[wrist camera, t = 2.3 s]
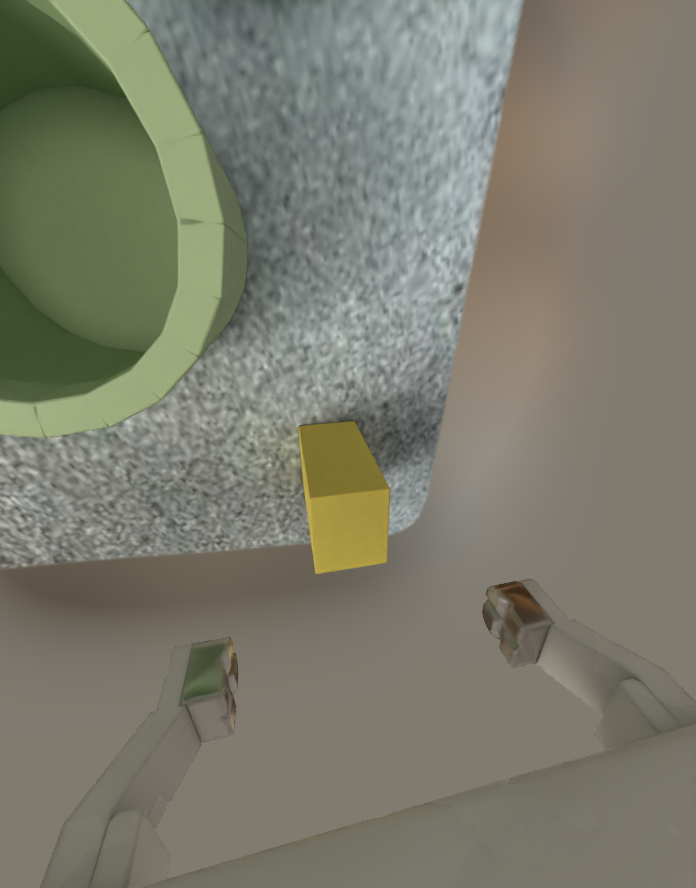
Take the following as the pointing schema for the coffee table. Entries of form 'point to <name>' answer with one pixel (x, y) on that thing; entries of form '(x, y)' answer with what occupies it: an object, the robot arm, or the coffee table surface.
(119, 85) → the jar
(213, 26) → the coffee table surface
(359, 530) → the sponge
